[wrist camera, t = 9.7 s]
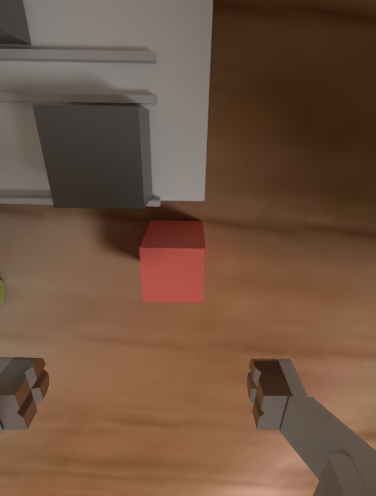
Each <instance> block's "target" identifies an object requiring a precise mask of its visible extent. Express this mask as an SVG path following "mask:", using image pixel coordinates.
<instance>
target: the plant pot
mask: <svg viewBox="0 0 376 496" xmlns="http://www.w3.org/2000/svg"><path fill="white" fill-rule="evenodd" d="M5 293H6V292H5V285H4V283H3V281H2V280H1V279H0V305H1V304H2V303H3V301H4V299H5Z"/></svg>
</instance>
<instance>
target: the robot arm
mask: <svg viewBox="0 0 376 496" xmlns="http://www.w3.org/2000/svg"><path fill="white" fill-rule="evenodd" d="M44 366H45V362H44V359H43V358H23V357H1V358H0V434H1V433H2V432H3V430H18V429H28V427H29V425H30V424H31V422H32V420H33V418H34V416H35V414H36V412H37V407H36V405H37V404H38V403H39V402H40V401H42V400H43V399H44V397H45V395H46V393H47V390H48V386H49V375H48V373H47V372H46V371H45V370H44V369H43V368H44ZM249 367H250V372H249V373H248V377H247V389H248V395H249V399H250V401H251V402H252V403H253V404H254V405H253V411H252V412H253V416H254V420H255V424H256V428H257V429H267V430H280V432H281V433H282V435H283V436H284V437H285V438H286V440H287V441H288V442H289V443H290V445H291V446H292V447H293V448H294V449H295V451H296V452H297V453H298V454H299V456H300V457H301V458H302V459H303V461H304V462H305V463H306V464H307V466H308V467H309V468H310V469H311V471H312V472H313V473H314V474H315V476H316V477H317V478H318V479H319V483H318V485H317V487H316V490H315V492H314V494H313V496H376V451H375V450H374V449H373V448H372V447H371V446H369V445H368V444H367V443H366V442H365V441H363V440H362V439H361V438H360V437H359V436H358V435H356V434H355V433H354V432H353V431H352V430H351V429H349V428H348V427H347V426H346V425H345V424H343V423H342V422H341V421H340V420H339V419H338V418H336V417H335V416H334V415H333V414H332V413H331V412H329V411H328V410H327V409H326V408H325V407H323V406H322V405H321V404H320V403H319V402H318V401H316V400H315V399H314V398H313V397H308V395H307V393H306V391H305V389H304V387H303V385H302V383H301V380H300V378H299V376H298V374H297V372H296V370H295V368H294V366H293V363H292V361H291V360H290V359H251V360H250V364H249Z"/></svg>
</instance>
